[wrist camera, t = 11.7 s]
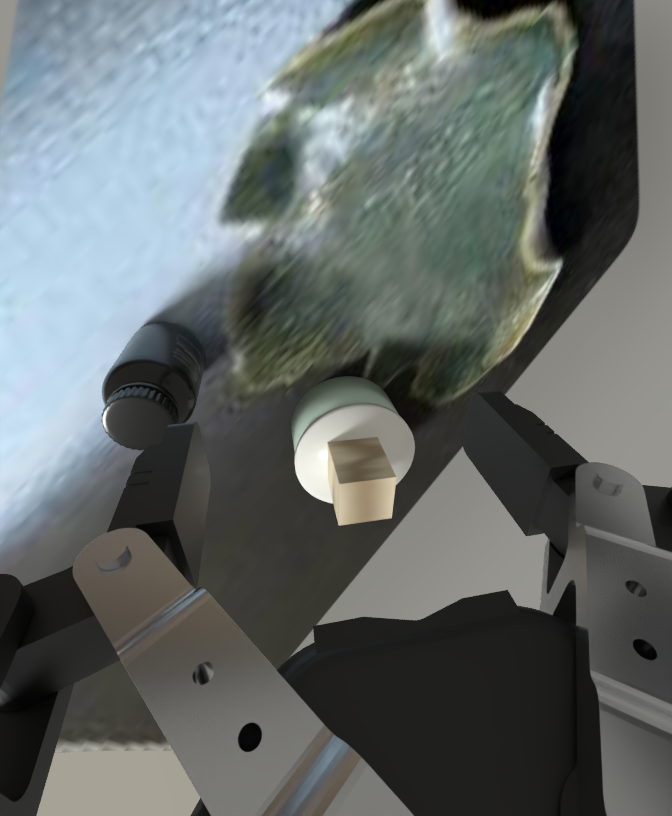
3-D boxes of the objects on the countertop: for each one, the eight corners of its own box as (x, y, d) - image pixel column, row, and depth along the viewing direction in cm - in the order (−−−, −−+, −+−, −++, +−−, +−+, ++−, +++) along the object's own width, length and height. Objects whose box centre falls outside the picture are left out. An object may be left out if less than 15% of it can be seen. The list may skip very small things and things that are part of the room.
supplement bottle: (122, 320, 35) (71, 381, 25) (201, 320, 37) (183, 378, 27) (137, 387, 39) (98, 464, 29) (209, 385, 40) (196, 458, 30)
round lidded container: (400, 372, 44) (424, 404, 38) (387, 459, 50) (405, 498, 44) (288, 375, 41) (295, 410, 36) (289, 467, 48) (294, 509, 42)
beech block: (377, 436, 39) (396, 476, 34) (374, 475, 41) (391, 517, 36) (327, 442, 38) (339, 484, 33) (327, 481, 41) (338, 525, 36)
